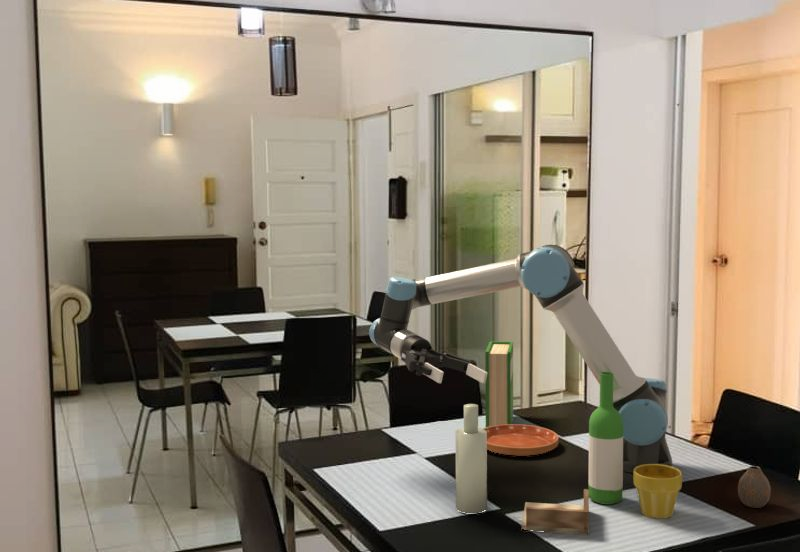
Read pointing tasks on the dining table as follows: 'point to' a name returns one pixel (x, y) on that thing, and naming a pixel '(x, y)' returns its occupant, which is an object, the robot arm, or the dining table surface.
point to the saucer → (520, 439)
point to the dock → (557, 517)
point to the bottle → (471, 464)
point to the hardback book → (499, 383)
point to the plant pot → (657, 489)
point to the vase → (754, 488)
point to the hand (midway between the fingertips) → (463, 377)
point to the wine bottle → (606, 447)
